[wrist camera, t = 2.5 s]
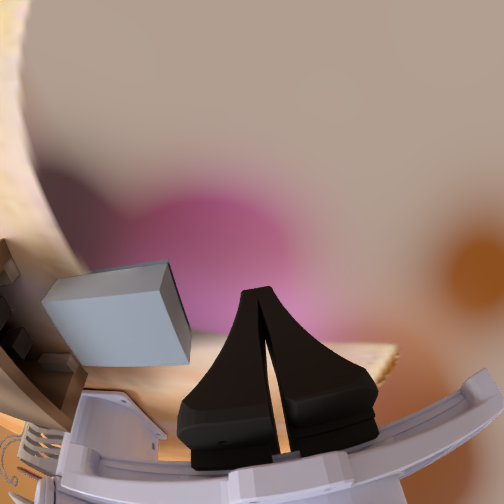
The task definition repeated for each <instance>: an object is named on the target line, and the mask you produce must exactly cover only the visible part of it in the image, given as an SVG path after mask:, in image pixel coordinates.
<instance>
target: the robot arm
mask: <svg viewBox="0 0 504 504" xmlns="http://www.w3.org/2000/svg"><path fill="white" fill-rule="evenodd" d="M265 340H266V344H267V347H268V350H269V354H270V357H271V360H272V364H273V367H274V371H275V374H276V378H277V382H278V386H279V392H280V397H281V402H282V407H283V413H284V418H285V423H286V429H287V434H288V439H289V445H290V450H291V452H289V453H283V454H281V452H280V447H279V441H278V436H277V430H276V425H275V419H274V413H273V408H272V402H271V396H270V390H269V384H268V375H267V360H266V346H265ZM377 396H378V389H377V386H376V384H375V382H374V381H373V379H372V378H371V376H370V375H369V373H368V372H367V371H366V369H365V368H363V367H361V366H359V365H356V364H354V363H352V362H350V361H348V360H346V359H345V358H343V357H341V356H340V355H338V354H336V353H335V352H333V351H332V350H330V349H329V348H327V347H326V346H324V345H323V344H321V343H320V342H319V341H318V340H316V339H315V338H314V337H313V336H311V335H310V334H309V333H308V332H307V331H306V330H305V329H303V327H302V326H300V324H299V323H298V322H297V321H296V320H295V319H294V318H293V317H292V316H291V315H290V314H289V312H288V311H287V310H286V309H285V308H284V306H283V305H282V304H281V302H280V301H279V299H278V298H277V296H276V295H275V293H274V291H273V289H272V287H270V286H266V287H260V288H254V289H249V290H243V291H242V292H241V297H240V303H239V307H238V311H237V314H236V317H235V320H234V323H233V326H232V328H231V331H230V333H229V335H228V338H227V340H226V342H225V344H224V346H223V348H222V350H221V351H220V353H219V355H218V357H217V358H216V360H215V361H214V363H213V365H212V366H211V368H210V369H209V370H208V372H207V373H206V374H205V376H204V377H203V378H202V379H201V381H200V382H199V383H198V384H197V386H196V387H195V388H194V389H193V390H192V391H191V392H190V393H189V394H188V395H187V396H186V397H185V398H184V399H183V400H182V403H181V406H180V410H179V414H178V420H177V437H178V438H179V439H180V440H181V441H182V442H183V443H184V444H185V445H186V446H187V447H188V448H190V449H191V462H180V461H157V460H158V445H159V440H166V439H167V435H166V434H165V433H164V432H163V431H162V430H161V429H160V428H159V427H157V426H156V425H155V424H154V423H153V422H152V421H151V420H150V419H149V418H148V417H147V416H146V415H145V414H144V413H143V412H142V411H141V410H140V408H139V407H138V406H137V405H136V404H135V403H134V402H133V401H132V400H131V399H130V398H129V397H128V395H127V394H125V393H124V392H120V391H94V390H82V393H81V397H80V400H79V403H78V407H77V410H76V414H75V417H74V421H73V425H72V429H71V433H68V432H65V434H64V438H63V442H62V446H61V450H60V455H59V460H58V465H57V470H56V476H55V477H52V479H51V478H49V477H45V478H42V479H40V480H39V481H38V485H37V489H36V493H35V500H34V504H407V502H406V499H405V496H404V493H403V490H402V487H401V484H400V481H399V480H400V479H402V478H404V477H406V476H408V475H410V474H412V473H414V472H416V471H418V470H420V469H422V468H423V467H425V466H427V465H429V464H431V463H433V462H434V461H436V460H438V459H439V458H441V457H443V456H444V455H446V454H448V453H449V452H451V451H452V450H454V449H455V448H457V447H459V446H460V445H462V444H463V443H465V442H466V441H468V440H469V439H470V438H472V437H473V436H475V435H476V434H477V433H479V432H480V431H482V430H483V429H484V428H485V427H486V426H487V425H488V424H489V423H491V422H492V421H493V420H494V419H495V418H496V417H497V416H498V415H499V414H500V413H501V412H502V411H503V410H504V396H503V395H502V393H501V391H500V389H499V388H498V386H497V384H496V383H495V381H494V380H493V378H492V377H491V375H490V373H489V372H488V370H487V369H486V368H483V369H482V370H480V371H479V372H477V373H475V374H474V375H472V376H471V377H469V378H468V379H467V380H466V381H465V382H464V383H463V385H462V386H461V388H460V389H459V390H458V391H456V392H454V393H452V394H450V395H449V396H447V397H445V398H443V399H441V400H439V401H438V402H436V403H434V404H432V405H430V406H428V407H426V408H424V409H422V410H419V411H418V412H415V413H413V414H411V415H409V416H406V417H404V418H402V419H399V420H397V421H395V422H393V423H390V424H387V425H385V426H382V427H379V428H378V427H377V425H376V422H375V420H374V417H375V413H374V410H373V408H372V407H373V405H374V403H375V400H376V398H377Z"/></svg>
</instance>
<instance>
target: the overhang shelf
mask: <svg viewBox="0 0 504 504" xmlns="http://www.w3.org/2000/svg"><path fill="white" fill-rule="evenodd" d="M19 275H20V273H19V271H18V269H17V267H16V265H15V263H14V261H13V259H12V257H11V255H10V252H9V250H8V248H7V246H6V243H5V241H4V239H1V240H0V286H3V285H7V284H12V283H13V282H14V281H15V280H16V278H17V277H18V276H19ZM11 314H12V310H11V309H10V307H9V306H8V304H7V302H6V301H5V299H4V297H3V296H0V330H1V329H2V327H3V326H4V324H5V323H6V321H7V320H8V318H9V317H10V315H11ZM32 343H33V341H32V340H31V338H30V337H29V336H28V334H27V333H26V331H25V330H24V329H23V328H10V329H9V330H8V332H7V334H6V335H5V337H4V339H3V340H2V342H0V412H1V413H4V414H7V415H9V416H12V417H15V418H18V419H21V420H24V421H27V422H30V423H33V424H37V425H40V426H44V427H47V428H51V429H55V430H59V431H64V432H68V433H71V429H72V425H73V421H74V417H75V414H76V410H77V407H78V403H79V400H80V397H81V393H82V390H83V387H84V384H85V381H86V378H87V375H88V374H87V373H86V372H85V371H84V369H83V368H82V367H81V366H80V365H79V363H78V362H77V361H76V360H75V358H74V357H73V356H72V355H71V354H60V353H42V354H41V356H40V358H39V360H38V361H34V360H24V359H25V357H26V355H27V353H28V351H29V349H30V347H31V345H32Z"/></svg>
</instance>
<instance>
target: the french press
mask: <svg viewBox="0 0 504 504" xmlns="http://www.w3.org/2000/svg"><path fill="white" fill-rule="evenodd" d="M28 425H29V429H27V428H28ZM40 433H43V434H44V435H45V436H46V437H47V438H48V439H45V438H43V437H42V436H41V435H40ZM64 434H65V432H64V431H59V430H55V429H51V428H47V427H44V426H40V425H37V424H33V423H30V422H27V421H26V423H25V426H24V429H23V432H22V434H21V435H10V436H7V437H5V438H4V439H3V440H2V441H1V442H0V447H1V444H2V443H3V442H4V441H5V440H6V439H7V438H9V437H22V439H14V440H11V441H10V442H8V443H7V445H6V446H5V447H4V448H3V452H2V455H1V463H2V469H3V472H4V474H5V476H6V478H7V479H8V477H7V475H6V473H5V471H4V467H3V455H4V451H5V449H6V448H7V446H8V445H9V444H10V443H11V442H15V441H21V443H20V447H19V451H18V455H17V457H18V458H21V461H23V462H24V463H25V464H27V465H29V466H30V467H32V468H34V469H36V470H37V471H39V472H42V473H43V474H45V475H47V476H50V477H55V476H56V470H57V465H58V460H59V455H60V450H61V448H59V447H55V446H52V445H51V444H58V445H61V446H62V442H63V438H64ZM25 435H27V436H26V438H25ZM38 442H40V443H43V444H44V445H46V446H47V447H48V448H43V447H42V446H41V445H40V444H39V443H38ZM23 443H24V447H22V446H23ZM39 452H41V453H44V454H46V455H47V456H49V457H50V458H44V457H43V456H41V455H40V454H39ZM51 453H52V454H51ZM55 454H58V455H55ZM35 455H36V456H37V457H36V456H35ZM17 468H18V470H19V471H20V472H22V473H25V475H27V476H28V475H29V477H31V478H33V479H35V480H38V481H39V480H40V479H42V478H43V477H41V476H39V475H37V474H35V473H33V472H31V471H29V470H27V469H24V468H22V467H17ZM0 473H1V475H2V476H3V478H4V479H5V480H6V481H7V479H6V478H5V477H4V475H3V474H2V472H1V469H0ZM14 478H16V482H15V484H13V479H14ZM8 480H9V479H8ZM7 482H8V481H7ZM8 483H9V484H12V485H13V486H17V483H18V479H17V477H15V476H12V479H11V481H10V480H9V482H8ZM8 494H9V495H10V496H11V498H12V499H13V500H14V502H15V503H16V504H34V502H32V501H30V500H28V499H26V498H24V497H22V496H20V495H19V494H16V493H14V492H12V491H10V492H9V493H8Z"/></svg>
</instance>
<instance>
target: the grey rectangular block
mask: <svg viewBox="0 0 504 504" xmlns="http://www.w3.org/2000/svg"><path fill="white" fill-rule="evenodd" d="M86 272H87V273H88V274H87V275H80V276H73V277H66V278H59V279H57V280H56V282H55V283H54V284H53V286H52V287H51V289H50V290H49V291H48V293H47V294H46V296H45V297H44V299H43V300H42V302H41V303H42V305H43V307H44V309H45V310H46V312H47V314H48V315H49V317H50V319H51V320H52V322H53V324H54V325H55V327H56V328H57V330H58V331H59V333H60V334H61V336H62V337H63V339H64V340H65V342H66V343H67V345H68V346H69V348H70V349H71V350H72V352H73V353H74V355H75V356H76V357H77V359H78V360H79V361H80V363H81V364H82V365H83V366H101V367H146V366H171V365H187V364H189V363H190V350H191V338H192V335H191V332H190V330H189V328H191V327H190V324H189V321H188V319H187V316H186V313H185V310H184V307H183V304H182V301H181V298H180V295H179V292H178V289H177V286H176V283H175V279H174V276H173V273H172V269H171V266H170V263H169V260H161V261H154V262H147V263H141V264H134V265H127V266H120V267H113V268H107V269H100V270H93V271H86Z"/></svg>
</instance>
